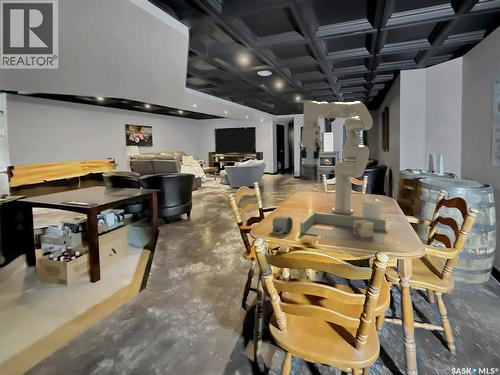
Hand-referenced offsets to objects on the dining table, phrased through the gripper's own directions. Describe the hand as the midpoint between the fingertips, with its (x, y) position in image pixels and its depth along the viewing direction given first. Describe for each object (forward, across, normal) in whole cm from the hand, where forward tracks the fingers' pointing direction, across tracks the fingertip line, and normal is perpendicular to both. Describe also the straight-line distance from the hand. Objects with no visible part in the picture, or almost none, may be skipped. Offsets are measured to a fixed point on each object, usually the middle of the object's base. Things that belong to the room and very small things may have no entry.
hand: (309, 158), depth 148 cm
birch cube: (+34, -32, -4) cm, 47 cm away
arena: (+35, -24, -1) cm, 42 cm away
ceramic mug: (+35, -8, +24) cm, 43 cm away
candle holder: (+35, -21, -25) cm, 48 cm away
